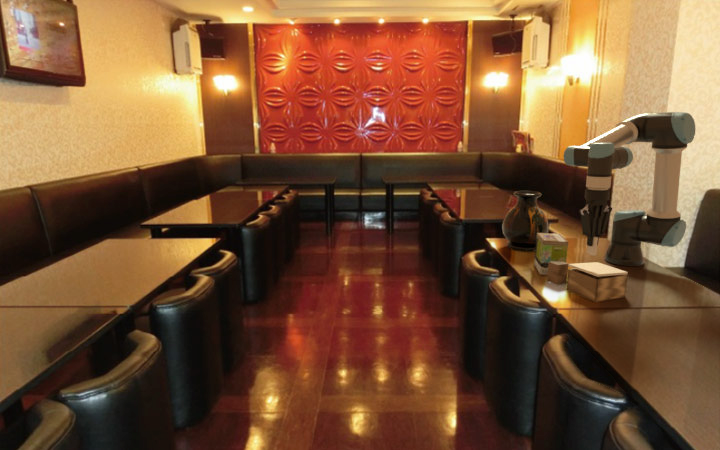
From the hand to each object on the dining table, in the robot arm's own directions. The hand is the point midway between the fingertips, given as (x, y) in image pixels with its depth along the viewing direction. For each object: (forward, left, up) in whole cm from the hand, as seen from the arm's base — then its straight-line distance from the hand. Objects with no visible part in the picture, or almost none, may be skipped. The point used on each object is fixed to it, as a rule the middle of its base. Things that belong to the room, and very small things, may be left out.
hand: (591, 254), depth 161 cm
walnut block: (0, -14, -15) cm, 21 cm away
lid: (-3, 0, -6) cm, 7 cm away
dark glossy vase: (-22, -61, -15) cm, 66 cm away
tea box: (-8, -27, -15) cm, 32 cm away
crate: (-4, 0, -15) cm, 15 cm away
